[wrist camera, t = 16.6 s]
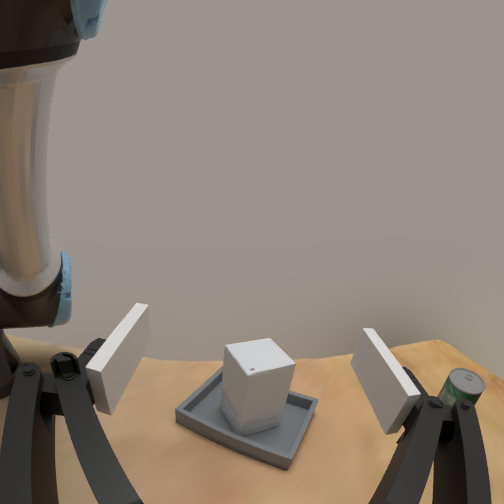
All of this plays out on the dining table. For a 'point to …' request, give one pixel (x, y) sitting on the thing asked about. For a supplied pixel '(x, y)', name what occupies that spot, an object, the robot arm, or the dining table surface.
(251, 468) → the dining table surface
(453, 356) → the dining table surface
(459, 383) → the canned tomato
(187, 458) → the dining table surface
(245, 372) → the supplement box
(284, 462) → the gray tray
